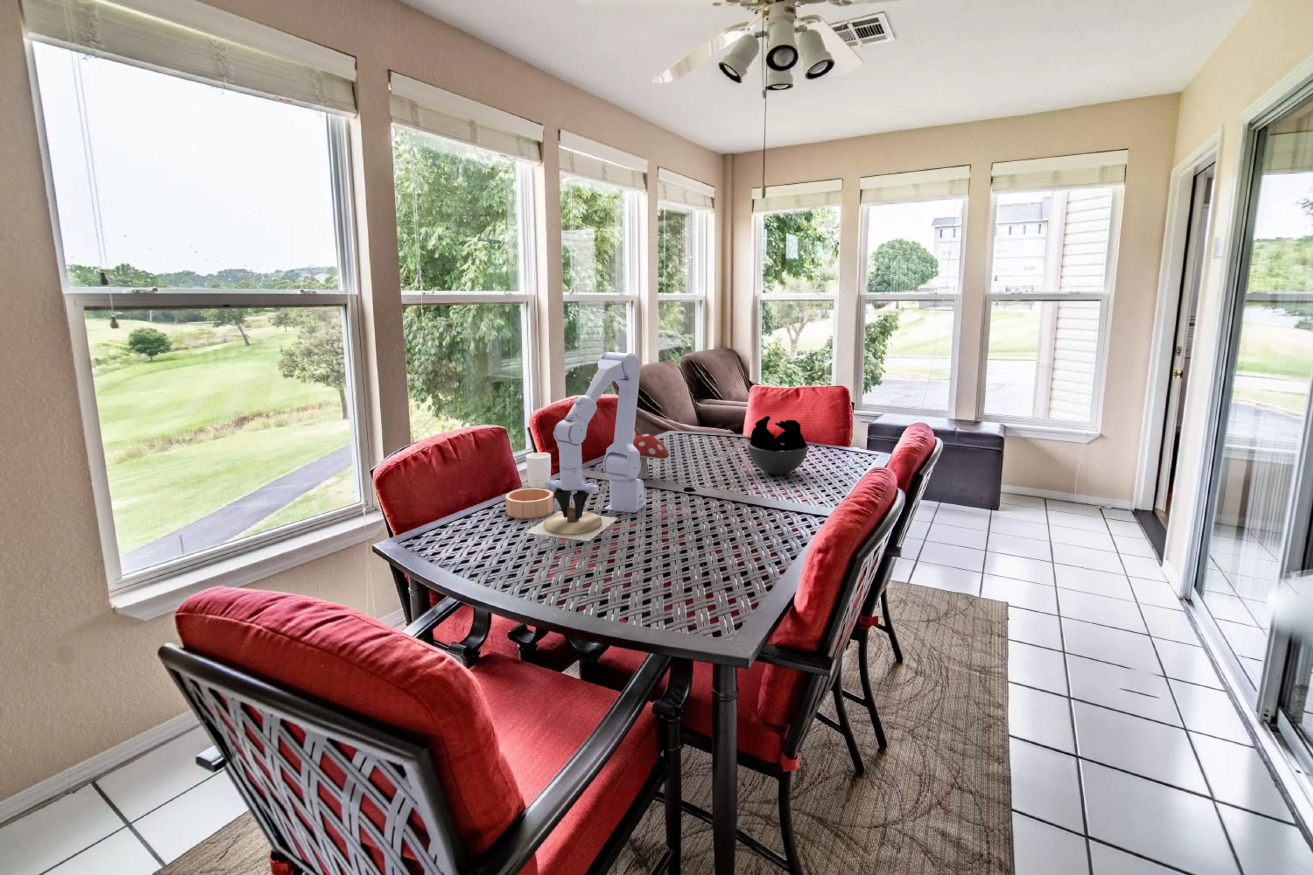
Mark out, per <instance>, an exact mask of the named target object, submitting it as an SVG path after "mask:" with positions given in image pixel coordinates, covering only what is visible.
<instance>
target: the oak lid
mask: <svg viewBox="0 0 1313 875" xmlns="http://www.w3.org/2000/svg"><path fill="white" fill-rule="evenodd" d="M554 514H555V513H554ZM554 514H552V515H548V517H546V518H545V519H544V520H543V521H544V528H545V529H546V530H548V531H550V532H553V533H557V534H581V533H586V532H590V531H593V530H596V529H597V528H599V527H600V526H601V525H602V519H601V517H600V516H601V515H599V514H597V513H593V512H590V511H589V512H588V511H583V513H582V517H581V518H580V519H576V515H575V505H570V506H569V507H567V517H566V518H564V516H563V513H558V514H555V515H554Z"/></svg>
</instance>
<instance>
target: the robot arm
mask: <svg viewBox="0 0 1313 875" xmlns="http://www.w3.org/2000/svg"><path fill="white" fill-rule="evenodd" d="M641 367H642V362H641V360H640V358H639V357H638V356H637V354H635V353H633V352H629V353H625V352H611V351H606V352H604V353H603V354H602V355H601V357H600V359H599V360H598V361H597V371H596V373H595V375H594V377H593V379H592V381H591V383H590V384H589V387H588V389H587V391H586V392H585V394H584V395H583V396H579V397H578V398H576V399H575V400H574V404H573V405H572V407H571V408H570V410H569V411H568V413H567V415H566V416H565V418H564V419H562V420H560V421H559V422H558V423H556V425H555V426H554V431H553V432H552V435H553V438H554V440H555V441H556V445H557V448H558V453H559V454H558V456H559V480H557V479H550V480H548V481H546V482H545V488H544V489H547V490H550V489H551V490H555V492H553V497H555V499H556V500H557V502H558V505H559V506H560V509H561V511H562V513H563V516H564V518H566V517H567V507H569V506H571V505H570V500H571V492H575V493H573V494H572V499H573V502H574V506H575V515H576V519H580V518H581V517H582V513H583V512H584V507H585V504H586V501H587V499H588V497H589V495H590V494H592V495H596V494H598V493H599V492H600V490H599V489H600V487H599V484H595V483H589V482H586V481H584V480H583V456H582V455H583V453H582V443H583V442H584V441H585V440H586V437H587V431H588V424H589V423H590V422H591V420H592V418H593V417H594V415H595V413H596V412H597V410H598V406H597V402H598V400H599V399H600V398H601V396H602V395H603V394H604V392H605V391H607V390H606V389H607V388H608V387H609V385H610V384H611V383H612V382H615V384H616V385H617V386H618V397H617V406H616V407H617V408H616V415H615V416H616V418H615V426H614V437H613V443H612V444H610V445H609V446H608V447H607V448H606V451H605V456H604V458H603V462H602V468H603V469H602V470H603V471H604V472H605V474H606V477H607V478H609V482H608V483H609V504H608V505H607V506H605V507H604V509H605V510H609V511H619V512H628V513H637V512H638V511H639V510H640V509H641V508H643V507H645V505H646V503H645V483H644V479H637V476H638V474H639V472H640V469H641V463H640V452H639V451H638V450H637V449H636V448H635V446H634V445H633V438H634V437H635V425H636V418H637V408H638V407H637V405H638V398H639V397H638V396H639V387H640V377H641Z"/></svg>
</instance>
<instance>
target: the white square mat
mask: <svg viewBox="0 0 1313 875" xmlns="http://www.w3.org/2000/svg"><path fill="white" fill-rule="evenodd" d="M558 513H562V510H561V511H560V510H558V511H557V512H556V513H554V514H553V515H555V514H558ZM599 516H600V517H601V519H602V525H601V526H600V527H599V528H597V529H596V530H593V531H590V532H586V533H581V534H557V533H553V532H550V531H548V530H546V529H545V528H544V520H543V521H541V522H540V523H538V524H536V525H535V526H533V527H531V528H530V529H528V530H527V531H525V532H524V533H525V534H531V535H538V536H539V535H540V536H547V537H551V538H560V539H561V538H562V539H568V540H577V541H582V542H591V541H592V540H593V539H594V538H595V537H596V536H598V535H599V534H600V533H601V532H603V531H604V530H605V529H607V528H608V527H609V526H611V525H612V524H613V523H614V522H616V521H617V520H618V519H619V517H613V516H602V515H599Z"/></svg>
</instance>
